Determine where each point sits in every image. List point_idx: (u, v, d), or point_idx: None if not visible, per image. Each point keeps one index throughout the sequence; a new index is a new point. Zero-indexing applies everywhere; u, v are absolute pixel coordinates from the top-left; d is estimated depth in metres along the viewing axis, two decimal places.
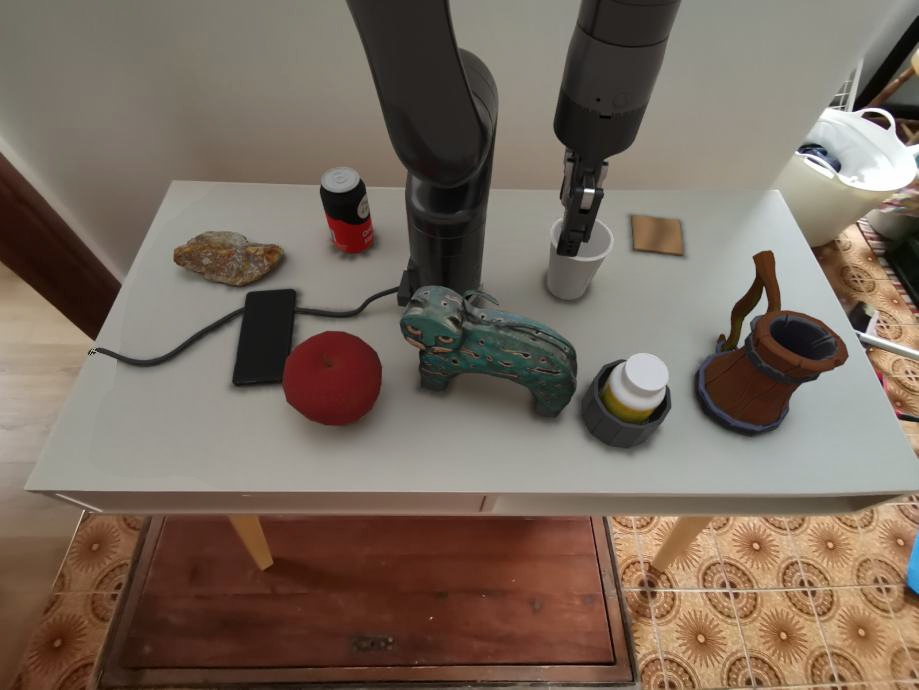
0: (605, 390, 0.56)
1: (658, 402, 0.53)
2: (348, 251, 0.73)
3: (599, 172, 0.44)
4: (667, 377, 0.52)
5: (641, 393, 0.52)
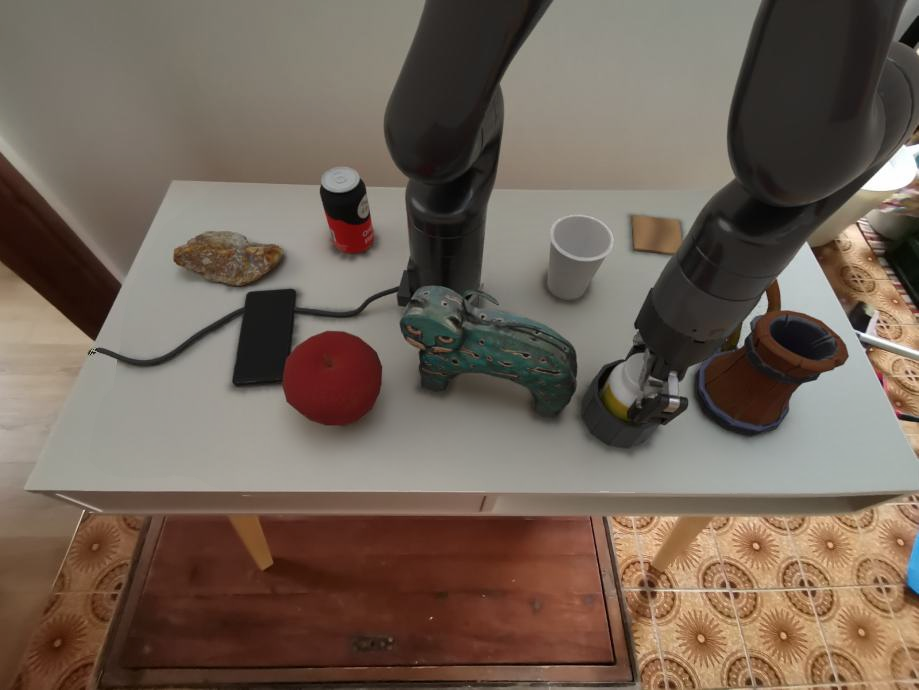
0: (605, 390, 0.56)
1: None
2: (348, 251, 0.73)
3: (684, 374, 0.45)
4: None
5: None
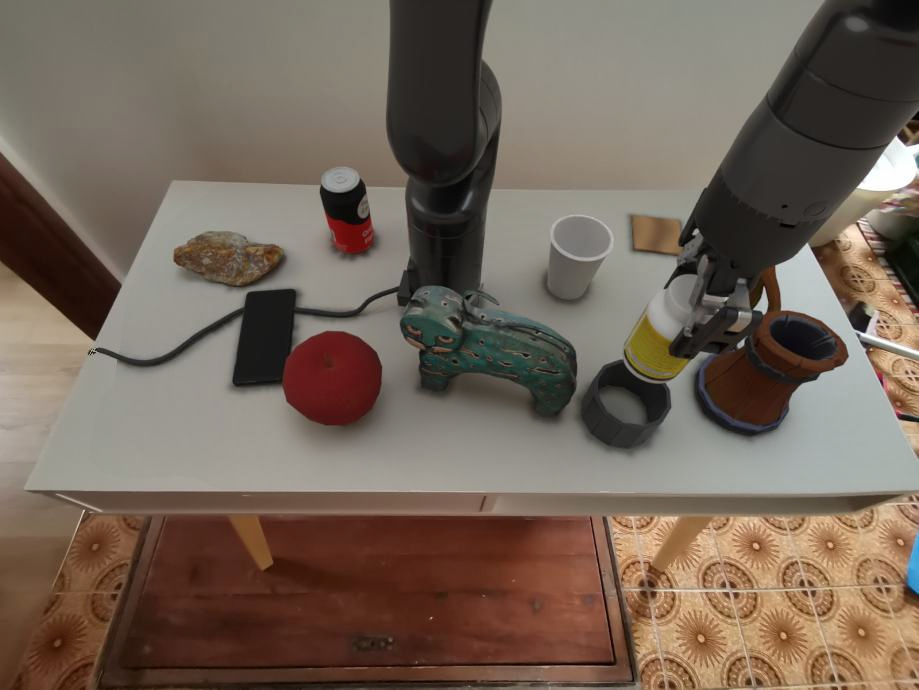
0: (640, 324, 0.46)
1: None
2: (348, 251, 0.73)
3: (756, 282, 0.34)
4: None
5: None
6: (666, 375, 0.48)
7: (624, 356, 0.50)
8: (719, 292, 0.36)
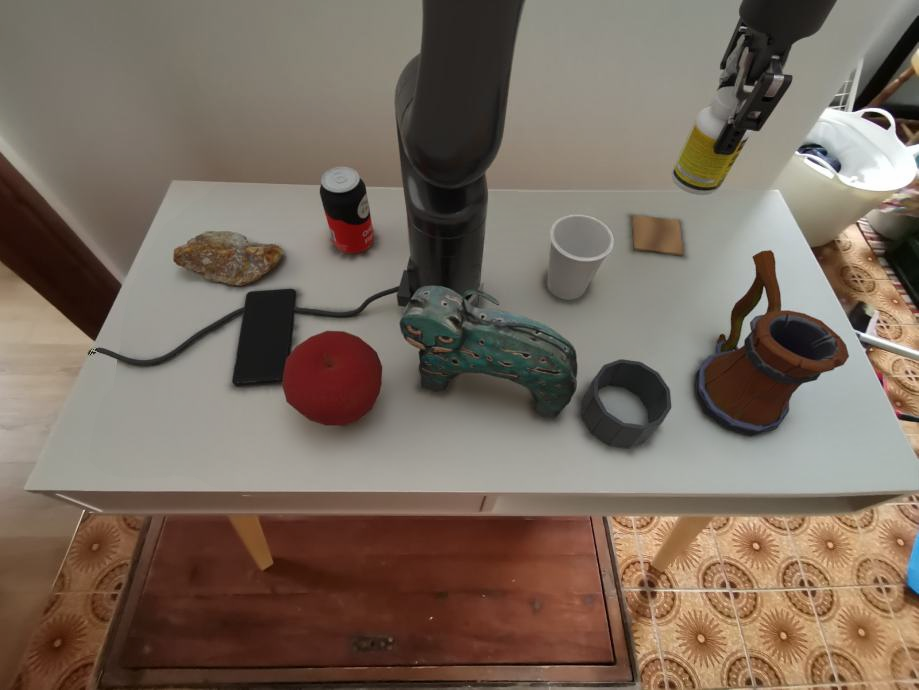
0: (690, 137, 0.58)
1: (746, 134, 0.54)
2: (348, 251, 0.73)
3: (786, 56, 0.46)
4: None
5: None
6: (710, 182, 0.59)
7: (674, 175, 0.62)
8: (757, 72, 0.48)
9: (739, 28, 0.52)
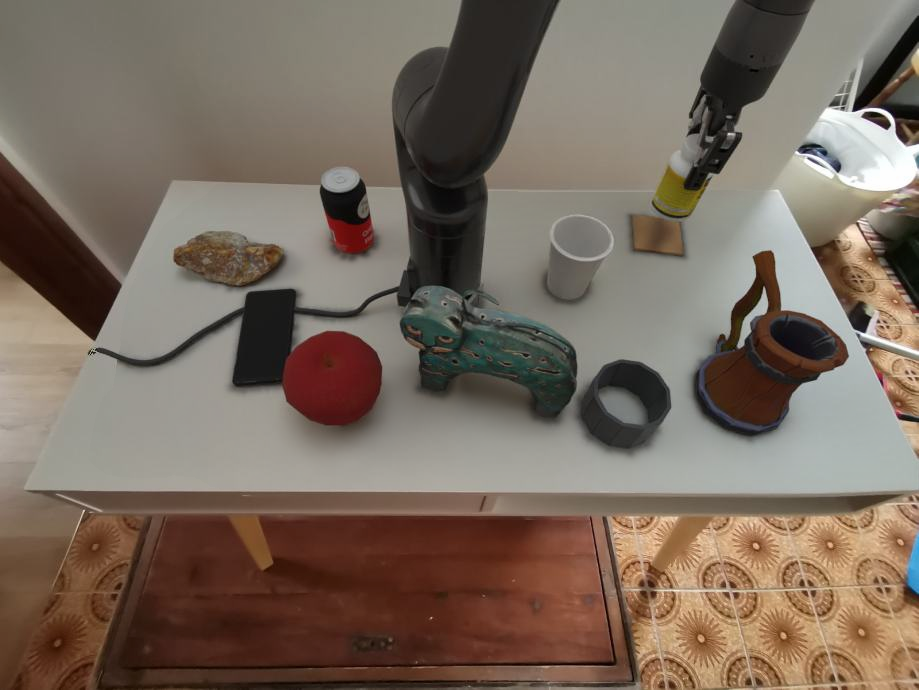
0: (664, 174, 0.68)
1: (710, 173, 0.65)
2: (348, 251, 0.73)
3: (738, 116, 0.57)
4: None
5: None
6: (682, 211, 0.70)
7: (652, 204, 0.72)
8: (716, 128, 0.58)
9: (703, 87, 0.63)
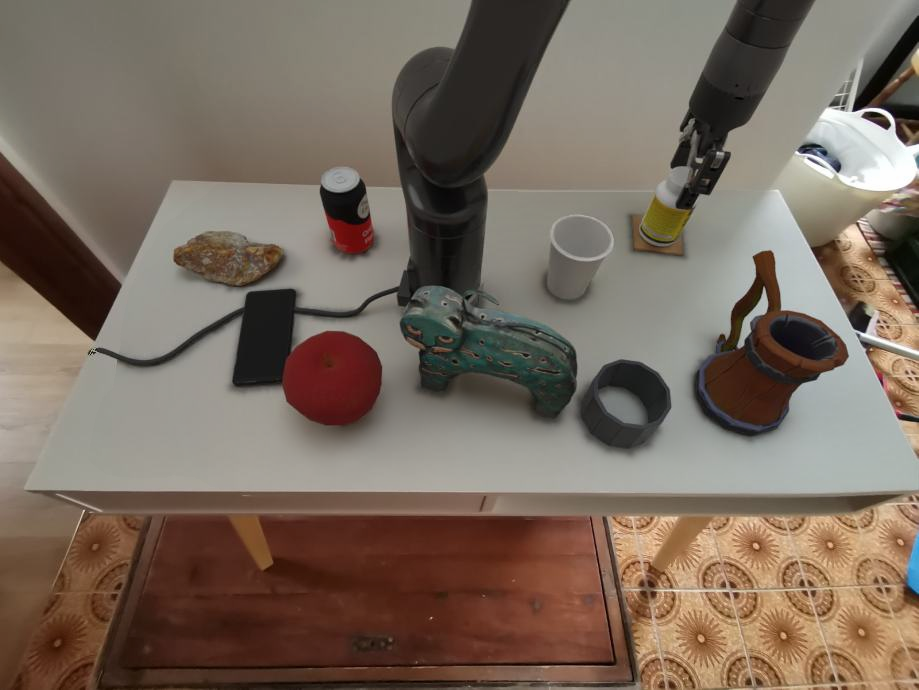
0: (651, 203, 0.73)
1: None
2: (348, 251, 0.73)
3: (724, 140, 0.59)
4: None
5: None
6: (668, 237, 0.74)
7: (640, 230, 0.77)
8: (703, 150, 0.61)
9: None
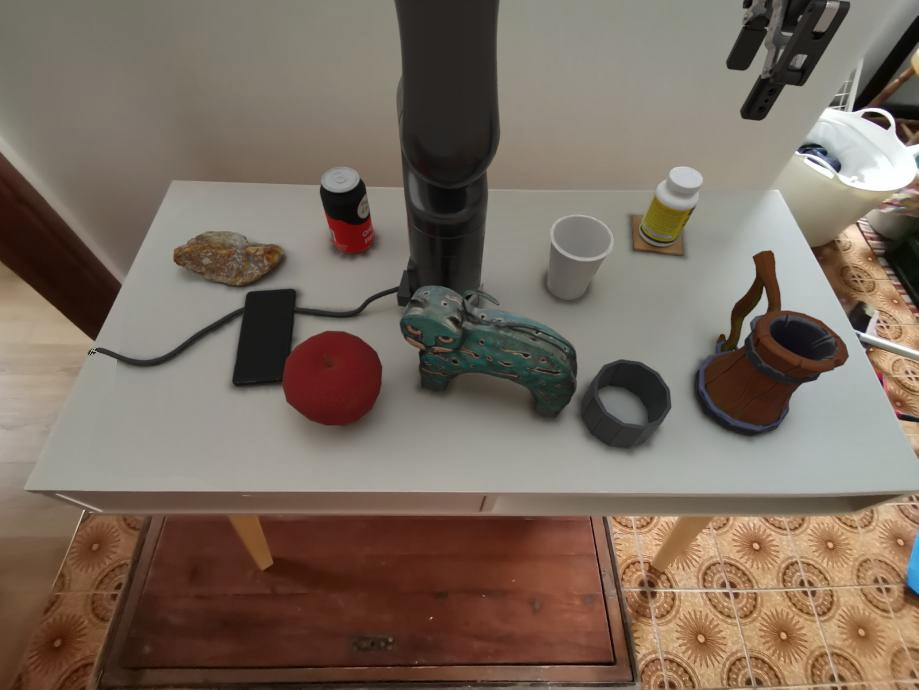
0: (651, 203, 0.73)
1: (694, 203, 0.70)
2: (348, 251, 0.73)
3: None
4: (701, 180, 0.68)
5: (682, 192, 0.68)
6: (668, 237, 0.74)
7: (640, 230, 0.77)
8: (797, 11, 0.38)
9: None
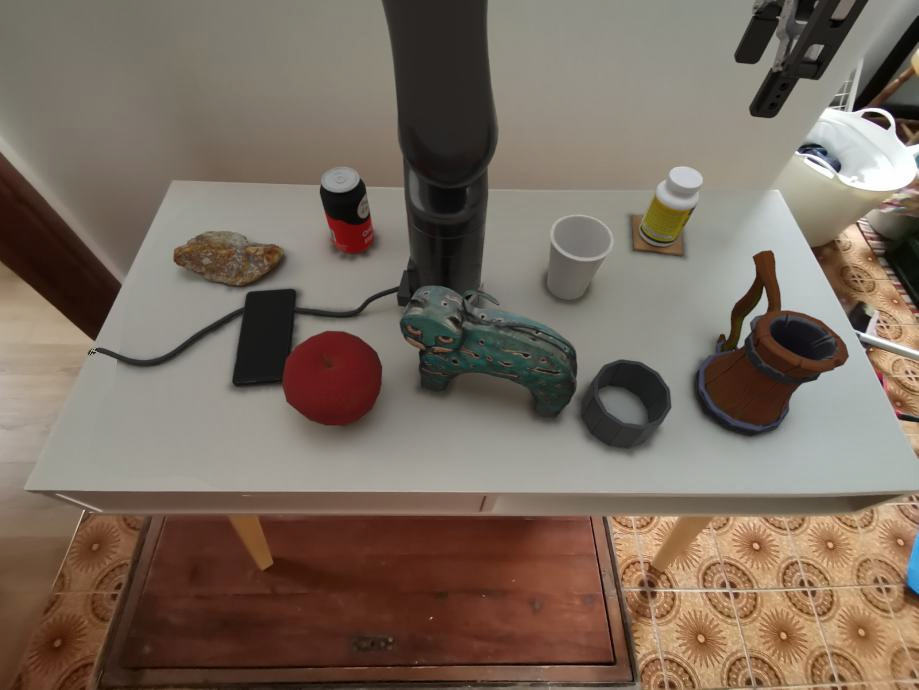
0: (651, 203, 0.73)
1: (694, 203, 0.70)
2: (348, 251, 0.73)
3: None
4: (701, 180, 0.68)
5: (682, 192, 0.68)
6: (668, 237, 0.74)
7: (640, 230, 0.77)
8: None
9: None
